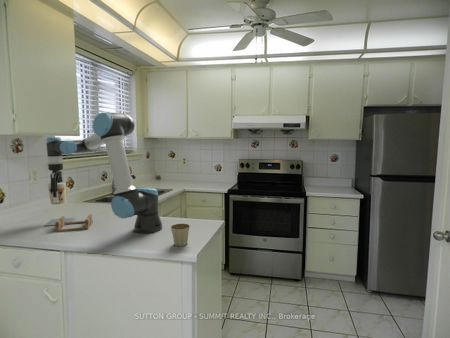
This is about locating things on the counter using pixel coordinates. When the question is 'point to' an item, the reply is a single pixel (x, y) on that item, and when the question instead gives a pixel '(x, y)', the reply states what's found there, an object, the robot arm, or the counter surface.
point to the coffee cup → (59, 193)
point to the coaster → (52, 221)
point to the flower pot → (180, 234)
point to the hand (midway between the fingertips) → (58, 200)
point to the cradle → (61, 223)
